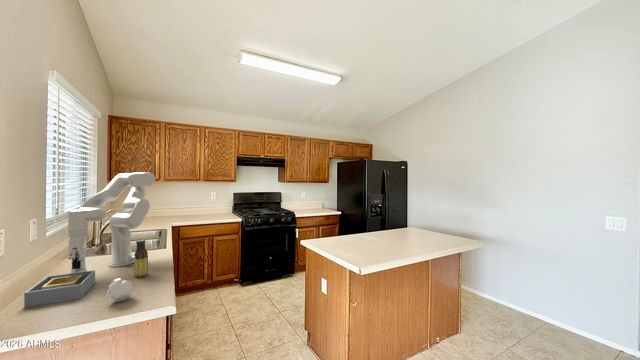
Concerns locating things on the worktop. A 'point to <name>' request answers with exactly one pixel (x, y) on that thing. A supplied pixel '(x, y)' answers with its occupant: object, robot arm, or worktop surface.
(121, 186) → the robot arm
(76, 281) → the olive square tray
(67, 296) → the walled box
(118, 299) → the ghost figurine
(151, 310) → the worktop surface
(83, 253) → the plastic bottle
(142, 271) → the sauce bottle
